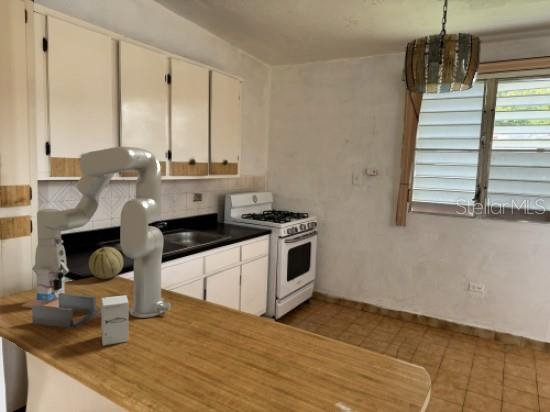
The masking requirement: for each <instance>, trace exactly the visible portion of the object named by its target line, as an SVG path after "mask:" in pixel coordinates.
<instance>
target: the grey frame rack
mask: <svg viewBox="0 0 550 412" xmlns="http://www.w3.org/2000/svg"><path fill="white" fill-rule="evenodd" d="M58 296H59V307H51V306H42V305H33V306H32V308H31V310H32V311H31V313H32V315H31V316H32V324H34V325H42V326H43V325H44V326H50V327H51V326H52V327H59V328H68V329H69V328H70V329H78V328H79V327H81V326H82V325H84V324H85V323H87V322H88V321H90V320H91V319H94V318H96V316H99V315H101V308H97V300H96V299H97V297H96V296H93V295H86V294H85V295H83V294H75V293H74V294H73V293H66V292H64V293H60V294H58ZM74 313H83V314H86V315H84V316H83V317H81V318H80V319H78V320H76V321H74Z"/></svg>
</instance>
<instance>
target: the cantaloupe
mask: <svg viewBox="0 0 550 412" xmlns="http://www.w3.org/2000/svg"><path fill="white" fill-rule="evenodd" d="M123 267H124V258H123V255H122V254H121V252H120V251H119V250H118V249H116V248H115V247H111V246H104V247H100V248H98V249H96V250H95V251H94V252H93V253H92V254H91V255H90V257H89V259H88V268H89V271H90V273H91V274H92V275H93V276H94V277H96V278H98V279H101V280H106V279H112V278H113V277H114V278H115V277H116V276H118V274H119V273H121V272H122V269H123Z"/></svg>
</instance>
